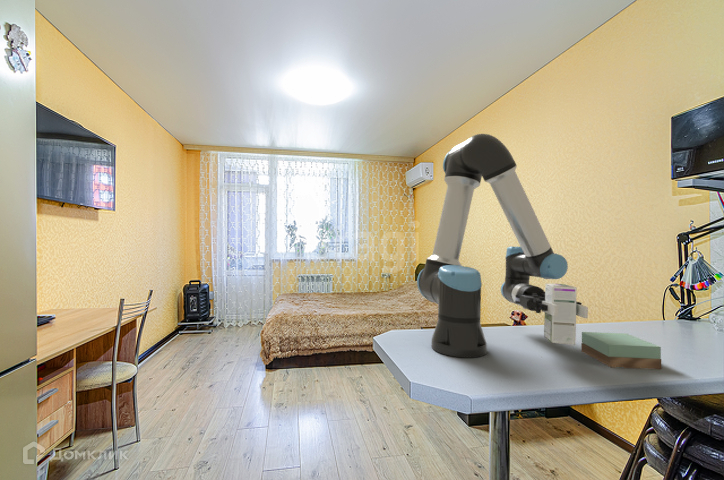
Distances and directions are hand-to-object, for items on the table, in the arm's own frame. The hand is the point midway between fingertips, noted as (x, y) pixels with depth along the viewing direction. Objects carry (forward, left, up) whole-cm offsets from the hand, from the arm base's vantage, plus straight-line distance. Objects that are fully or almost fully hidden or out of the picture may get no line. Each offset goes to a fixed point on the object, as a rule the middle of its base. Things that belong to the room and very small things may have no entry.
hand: (571, 311), depth 80 cm
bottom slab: (+17, +9, -15) cm, 24 cm away
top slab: (+17, +9, -12) cm, 23 cm away
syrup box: (0, +5, -9) cm, 10 cm away
